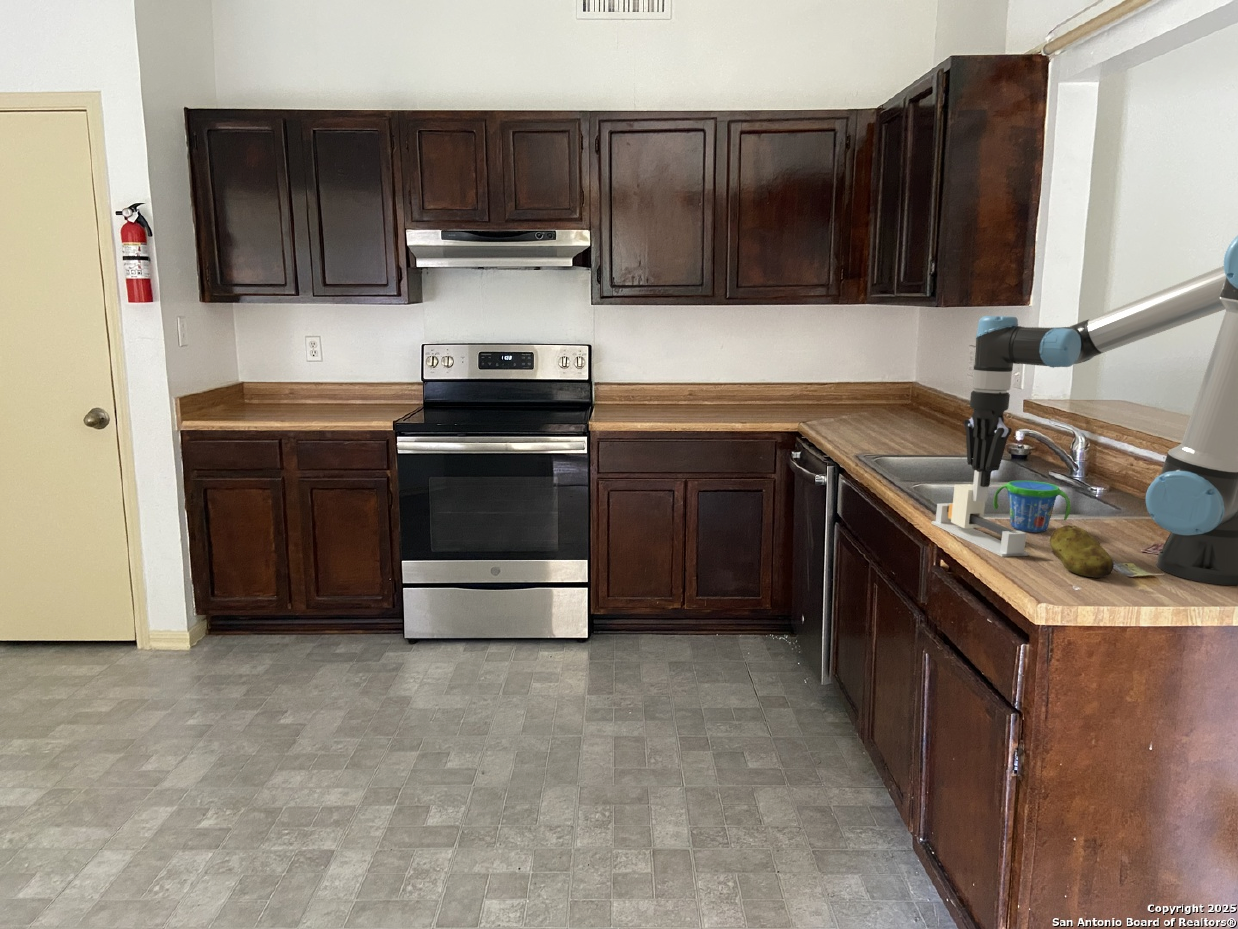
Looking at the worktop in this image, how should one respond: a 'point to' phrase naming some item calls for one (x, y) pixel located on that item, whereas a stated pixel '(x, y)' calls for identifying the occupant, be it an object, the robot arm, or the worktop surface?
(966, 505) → the tall cream pillar
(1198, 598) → the worktop surface
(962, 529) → the sliding block rail
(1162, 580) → the worktop surface
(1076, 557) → the potato
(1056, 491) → the snack cup
